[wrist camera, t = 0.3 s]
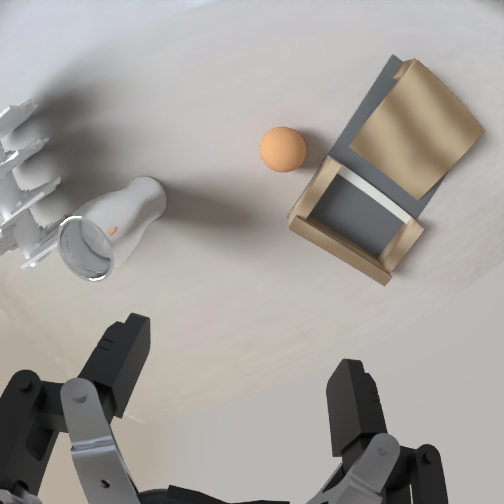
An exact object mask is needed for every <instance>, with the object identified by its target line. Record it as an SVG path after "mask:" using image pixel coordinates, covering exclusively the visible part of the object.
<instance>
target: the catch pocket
mask: <svg viewBox="0 0 504 504" xmlns="http://www.w3.org/2000/svg"><path fill="white" fill-rule="evenodd" d="M340 168H341V165H340V164H339V163H338V162H336V161H335V160H333V159H332V158H330V157H328V158H327V160H326V161H325V163H324V164H322V165H321V167H320V168H319V170H318V171H317V173H316V174H315V176H314V177H313V179H312V180H311V182H310V184H309V185H308V187H307V188H306V190H305V191H304V193H303V194H302V196H301V197H300V199H299V200H298V202H297V203H296V205H295V206H294V208H293V209H292V211H291V212H290V214H289V215H288V224H289V229H290V230H291V231H293V232H295V233H296V234H298V235H300V236H302V237H303V238H305V239H307V240H309V241H310V242H312V243H314V244H315V245H317V246H319V247H321V248H322V249H324V250H326V251H327V252H329V253H331V254H332V255H334V256H336V257H337V258H339V259H341V260H342V261H344V262H346V263H347V264H349V265H351V266H352V267H354V268H356V269H357V270H359V271H361V272H362V273H364V274H365V275H367V276H369V277H370V278H372V279H374V280H375V281H377V282H378V283H380V284H382V285H383V286H385V285H386V284H387V283H388V282H389V281H390V280H391V278H392V276H391V274H390V273H391V271H392V270H393V269H394V268H395V267H396V265H397V264H398V263H399V262H400V260H401V259H402V258H403V257H404V255H405V254H406V253H407V252H408V250H409V249H410V248H411V246H412V245H413V244H414V243H415V241H416V240H417V239H418V237H419V236H420V235H421V233H422V232H423V231H424V229H423V228H422V227H421V226H420V225H419V224H418V223H417V222H416V221H415V220H413V219H412V218H410V220H409V221H408V222H407V224H406V223H404V224H403V225H402V226H401V228H400V229H399V231H398V232H397V233H396V235H395V236H394V237H393V238H392V240H391V241H390V242H389V244H388V245H387V246H386V248H385V249H384V250H383V251H382V253H381V254H380V255H379V256H378V258H376V257H375V256H373V255H372V254H370V253H369V252H367V251H366V250H364V249H363V248H361V247H359V246H358V245H356V244H355V243H353V242H352V241H350V240H349V239H347V238H345V237H344V236H342V235H341V234H339V233H338V232H336V231H334V230H333V229H331V228H330V227H328V226H326V225H325V224H323V223H321V222H320V221H318V220H317V219H315V218H313V217H312V216H310V215H309V214H310V212H311V211H312V209H313V208H314V206H315V205H316V204H317V202H318V201H319V199H320V198H321V196H322V195H323V193H324V192H325V190H326V189H327V187H328V186H329V184H330V183H331V181H332V180H333V178H334V177H335V175H336V174H337V172H338V171H339V169H340Z"/></svg>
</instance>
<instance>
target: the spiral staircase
mask: <svg viewBox="0 0 504 504" xmlns="http://www.w3.org/2000/svg"><path fill="white" fill-rule="evenodd" d="M36 108H37V104H34V105H32V102H31V99H30V100H28V101H27V102H25V103H23V104H22V105H20V106H8V107H7V108H6V109H5V110H4V111H3V112H2V113H1V114H0V139H1V138H2V137H4V136H5V135H7V134H8V133H10V132H11V131H13V130H14V129H15V128H17V127H18V126H19V125H20V124H21V123H22V122H24V121H25V120H27V119H28V118H29V117H30V115H31V114H32V113H33V111H34V110H35V109H36ZM48 140H49V139H48V137H47V138H45V139H43V140H41V138H39V139H38V140H36V141H35V142H33V143H32V144H30V145H29V146H27V147H26V148H24V149H21V150H17V151H13V152H12V151H8V152H6V153H4V150H3V147H2V144H1V142H0V215H3V217H4V219H5V222H3V223H2V224H1V227H0V243H1V244H0V256H1V255H3V254H4V253H5V252H6V251H8V250H9V251H10V252H12V251H13V250H15V249H16V248H18V247H20V249H21V250H22V252H23V254H24V256H25V257H26V259H27V260H26V262H25V263H24V264H23V265H22V266H21V268H22V270H23V269H24V268H26V267H27V266H29V265H31V267H32V266H34V265H36V264H37V263H39V262H40V261H41V260H43V259H44V258H45V257H46V256H47V255H48V254H49V253H50V252H51V251H52V250H53V249H54V248H56V247H57V246H58V244H57V234H58V230H59V227H60V225H61V224H62V222H63V221H64V219H65V218H66V217H65V215H64V216H62V217H61V218H59V219H58V220H56V221H55V222H53V223H52V224H50V225H49V226H47V224H46V225H45V226H43V227H42V225H41V226H40V227H38V226H39V225H38V223H36V221H35V219H34V217H33V215H32V213H31V211H30V210H29V208H30V207H32V206H33V205H34V204H36V203H37V202H38V201H40V200H41V199H42V198H44V197H45V196H47V195H48V194H49V193H51V192H52V191H54V190H55V189H56V188H55V187H56V186H57V185H58V184H59V183H60V182H61V181H60V180H61V178H60V177H58V178H56V179H54V180H53V181H51V182H49V183H46V184H44V185H41V186H39V187H37V188H35V189H32V190H30V191H29V189H28V190H27V191H25V190H23V191H21V189H19V186H18V184H17V182H16V180H15V177H14V175H13V173H12V169H13V168H14V167H16V166H17V165H18V164H19V163H21V162H23V161H25V160H26V159H28V158H29V157H30V156H31V155H32V154H34V153H36V152H38V151H40V150H41V149H42V147H43V146H44V145H45V144H46V143H47V142H48ZM66 219H67V218H66ZM60 222H61V223H60ZM11 234H12V235H11ZM6 238H7V239H6ZM5 239H6V240H5ZM8 241H9V242H8ZM2 246H3V247H2ZM11 247H12V248H11Z"/></svg>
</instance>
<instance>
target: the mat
mask: <svg viewBox="0 0 504 504" xmlns="http://www.w3.org/2000/svg"><path fill="white" fill-rule="evenodd" d="M401 64H402V61H401V60H399V59H398V58H397V57H396V56H394V55H392V56H391V57H390V59H389V61H388V62H387V64H386V65H385V67H384V68H383V70H382V72H381V73H380V75H379V76H378V78H377V79H376V81H375V83H374V84H373V86H372V87H371V89H370V90H369V92H368V94H367V95H366V97H365V98H364V100H363V101H362V103H361V104H360V106H359V108H358V109H357V111H356V112H355V114H354V115H353V117H352V118H351V120H350V121H349V123H348V125H347V126H346V128H345V129H344V131H343V132H342V134H341V135H340V137H339V138H338V140H337V142H336V143H335V145H334V146H333V148H332V149H331V151H330V152H329V154H328V155H327V157H326V158H325V160H324V161H323V163H322V164H324V163H325V161H326V160H327V158H328V157H330V158H332V159H333V160H335V161H336V162H338V163H339V164H340V165H341V168H340V169H339V171H338V172H337V174H336V175H335V177H334V178H333V180H332V181H331V183H330V184H329V186H328V187H327V189H326V190H325V192H324V193H323V195H322V196H321V198H320V199H319V201H318V202H317V204H316V205H315V206H314V208H313V209H312V211H311V212H310V214H309V215H310V216H312V217H313V218H315V219H317V220H318V221H320V222H321V223H323V224H325V225H326V226H328V227H330V228H331V229H333V230H334V231H336V232H338V233H339V234H341V235H342V236H344V237H345V238H347V239H349V240H350V241H352V242H353V243H355V244H356V245H358V246H359V247H361V248H363V249H364V250H366V251H367V252H369V253H370V254H372V255H373V256H375V257H376V258H378V256H379V255H380V254H381V253H382V251H383V250H384V249H385V248H386V246H387V245H388V244H389V242H390V241H391V240H392V238H393V237H394V236H395V235H396V233H397V232H398V231H399V229H400V228H401V226H402V225H403V224H404V223H406V224H407V222H408V221H409V220H410V218H412V219H413V220H415V221H416V218H417V217H418V215H419V214H420V213H421V211H422V210H423V208H424V207H425V205H426V204H427V203H428V201H429V200H430V198H431V197H432V195H433V194H434V192H435V191H436V189H437V188H438V186H439V185H440V183H441V182H442V180H443V179H444V177H445V175H446V174H447V172H448V171H449V170H448V171H447V172H446V173H445V174H444V175H443V176H442V177H441V178H440V179H439V180H438V181H437V182H436V183H435V184H434V185H433V186H432V187H431V188H430V189H429V190H428V191H427V192H426V193H425V194H424V195H423V196H422V197H421V198H420V199H419V200H418V201H417V200H416V199H415V198H413V197H412V196H411V195H410V194H409V193H408V192H406V191H405V190H404V189H403V188H402V187H400V186H399V185H398V184H397V183H396V182H394V181H393V180H392V179H391V178H389V177H388V176H387V175H386V174H384V173H383V172H382V171H380V170H379V169H378V168H377V167H375V166H374V165H373V164H371V163H370V162H369V161H367V160H366V159H365V158H363V157H362V156H360V155H359V154H358V153H356V152H355V151H354V150H352V149H351V148H349V145H350V144H351V142H352V141H353V139H354V138H355V136H356V135H357V133H358V131H359V130H360V128H361V127H362V126H363V124H364V123H365V122H366V121H367V119H368V118H369V117H370V116H371V115H372V113H373V112H374V111H375V110H376V108H377V107H378V106H379V105H380V103H381V102H382V101H383V100H384V98H385V97H386V96H387V95H388V93H389V92H390V91H391V90H392V88H393V87H394V86H395V85H396V83H397V82H395V81H394V80H393V79H392V78H393V77H394V75H395V73H396V72H397V70H398V69H399V67H400V65H401ZM320 167H321V166H320ZM318 170H319V169H318ZM316 173H317V172H316ZM314 176H315V175H314ZM312 179H313V178H312ZM310 182H311V181H310ZM309 184H310V183H309ZM309 184H308V185H309ZM307 187H308V186H307ZM307 187H306V188H307ZM305 190H306V189H305ZM305 190H304V191H305ZM303 193H304V192H303ZM303 193H302V194H303ZM301 196H302V195H301ZM299 199H300V198H299ZM297 202H298V201H297ZM295 205H296V204H295ZM293 208H294V207H293ZM291 211H292V210H291ZM289 214H290V213H289ZM416 222H417V221H416Z"/></svg>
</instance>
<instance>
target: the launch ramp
mask: <svg viewBox="0 0 504 504" xmlns="http://www.w3.org/2000/svg"><path fill="white" fill-rule="evenodd" d="M392 79H393V80H394V81H395V82H397V83H396V85H395V86H394V87H393V88H392V90H391V91H390V92H389V93H388V95H387V96H386V97H385V98H384V100H383V101H382V102H381V103H380V105H379V106H378V107H377V108H376V110H375V111H374V112H373V113H372V115H371V116H370V117H369V118H368V119H367V121H366V122H365V123H364V124H363V126H362V127H361V128H360V130H359V131H358V133H357V135H356V136H355V138H354V139H353V141H352V142H351V144H350V145H349V148H351V149H352V150H354V151H355V152H356V153H358V154H359V155H360V156H362V157H363V158H365V159H366V160H367V161H369V162H370V163H371V164H373V165H374V166H375V167H377V168H378V169H379V170H380V171H382V172H383V173H384V174H386V175H387V176H388V177H389V178H391V179H392V180H393V181H394V182H396V183H397V184H398V185H399V186H400V187H402V188H403V189H404V190H405V191H406V192H408V193H409V194H410V195H411V196H412V197H413V198H415V199H416V200H417V201H418V200H419V199H420V198H421V197H422V196H423V195H424V194H425V193H426V192H427V191H428V190H429V189H430V188H431V187H432V186H433V185H434V184H435V183H436V182H437V181H438V180H439V179H440V178H441V177H442V176H443V175H444V174H445V173H446V172H447V171H448V170H449V169H450V168H451V167H452V166H453V165H454V164H455V163H456V162H457V161H458V160H459V159H460V158H461V157H462V156H463V155H464V154H465V152H466V151H467V150H468V149H469V148H470V147H471V146H472V145H473V144H474V143H475V142H476V140H477V139H478V138H479V137H480V136H481V135H482V134H483V133H484V132H485V130H484V129H483V128H482V126H481V125H480V124H479V123H478V121H477V120H476V119H475V118H474V117H473V115H472V114H471V113H470V112H469V111H468V110H467V108H466V107H465V106H464V105H463V104H462V103H461V102H460V101H459V100H458V98H457V97H456V96H455V95H454V94H453V93H452V92H451V91H450V90H449V89H448V88H447V87H446V86H445V85H444V84H443V83H442V82H441V81H440V80H439V79H438V78H437V77H436V76H435V75H434V74H433V73H432V72H431V71H430V70H428V69H427V68H426V67H425V66H424V65H423V64H422V63H421V62H420V61H418V60H416V59H415V58H414V59H411V60H408V61H404V62H402V64H401V65H400V67H399V69H398V70H397V72H396V73H395V75H394V77H393V78H392Z"/></svg>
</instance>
